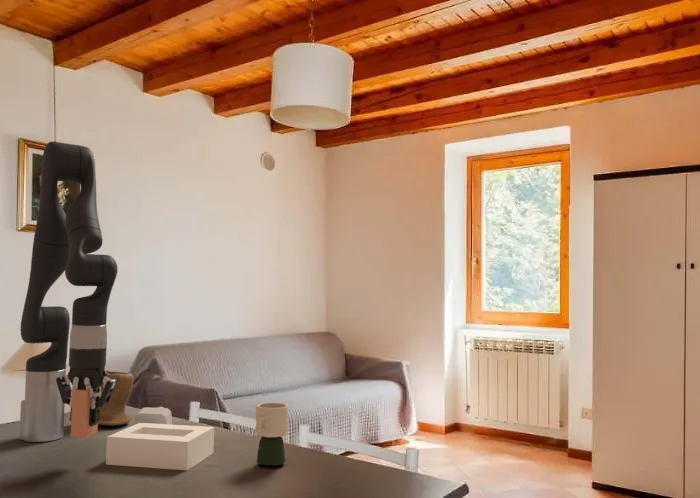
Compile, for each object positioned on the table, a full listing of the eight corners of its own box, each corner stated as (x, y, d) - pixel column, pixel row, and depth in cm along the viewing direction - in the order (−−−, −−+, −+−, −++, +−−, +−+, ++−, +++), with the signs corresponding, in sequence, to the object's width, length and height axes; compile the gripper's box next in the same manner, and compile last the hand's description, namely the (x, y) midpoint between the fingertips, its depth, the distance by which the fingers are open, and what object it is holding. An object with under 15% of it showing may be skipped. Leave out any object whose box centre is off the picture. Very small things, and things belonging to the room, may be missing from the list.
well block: (106, 464, 136) (107, 436, 137) (139, 447, 150) (139, 422, 150) (187, 470, 133) (188, 441, 133) (213, 452, 147) (214, 427, 147)
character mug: (270, 456, 144) (271, 399, 145) (297, 460, 141) (298, 402, 142) (243, 468, 134) (244, 407, 135) (270, 473, 131) (272, 411, 132)
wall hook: (183, 432, 164) (181, 396, 162) (168, 452, 154) (165, 414, 152) (154, 431, 164) (151, 395, 163) (137, 450, 154) (134, 413, 153)
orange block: (70, 436, 134) (72, 389, 134) (83, 431, 138) (85, 386, 139) (85, 438, 133) (87, 390, 134) (97, 432, 138) (99, 387, 138)
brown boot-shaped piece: (141, 421, 178) (143, 368, 179) (114, 430, 167) (116, 374, 168) (96, 417, 183) (98, 366, 183) (67, 426, 171) (69, 371, 172)
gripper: (48, 345, 134) (44, 426, 134) (108, 349, 132) (104, 431, 131) (69, 341, 141) (66, 418, 141) (127, 345, 139) (123, 423, 138)
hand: (84, 424), depth 136 cm, fingers closed on orange block, 3 cm apart
